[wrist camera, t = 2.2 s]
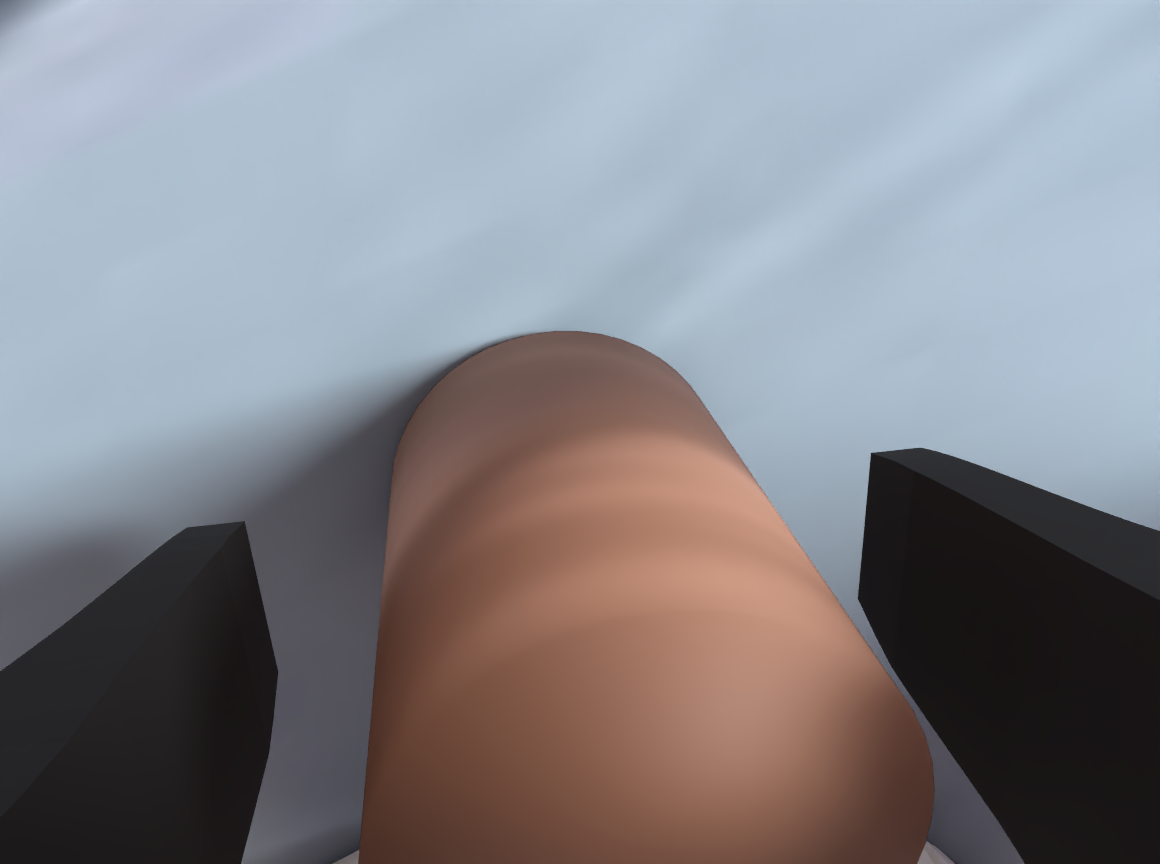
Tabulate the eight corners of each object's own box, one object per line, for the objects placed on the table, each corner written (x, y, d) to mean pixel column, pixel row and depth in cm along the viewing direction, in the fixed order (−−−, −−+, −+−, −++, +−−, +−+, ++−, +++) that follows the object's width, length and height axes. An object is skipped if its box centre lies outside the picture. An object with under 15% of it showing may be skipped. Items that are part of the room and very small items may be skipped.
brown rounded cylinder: (586, 258, 11) (727, 487, 6) (781, 496, 13) (1028, 841, 8) (318, 481, 12) (223, 870, 7) (538, 679, 14) (605, 1113, 8)
